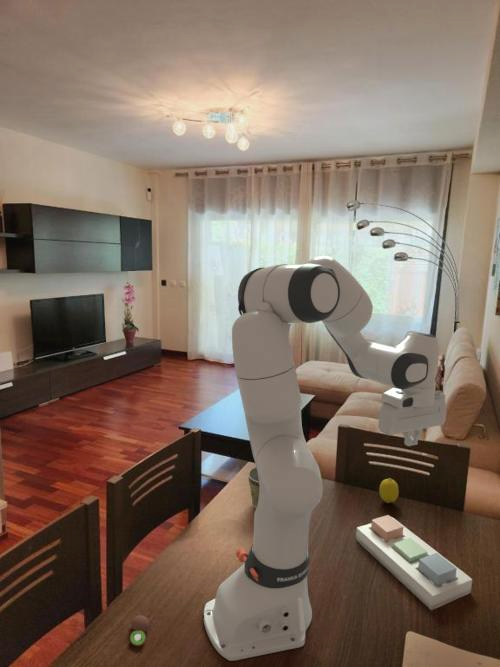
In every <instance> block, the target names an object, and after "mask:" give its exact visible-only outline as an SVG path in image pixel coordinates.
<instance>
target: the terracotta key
mask: <svg viewBox="0 0 500 667" xmlns="http://www.w3.org/2000/svg"><path fill="white" fill-rule="evenodd" d="M393 518H394V517H393ZM393 518H392V516H390V515H389V514H387V515H382V516H380V517H376V518H373V519H371V523H372V524H371V529H372V530H374V531H375V532H376V533H377V534H378V535H379V536H381V537H382V538H383V539H384V540H385V541H388V540H391V539H394V538H397V537H400V536H403V526H404V525H403V524H402V523H401V524H402V525H403V526H402V525H401V524H399V523H400V522H399V521H398V520H397V521H398V522H399V523H398V522H397V521H395V520H396V519H395V518H394V519H395V520H394V519H393Z"/></svg>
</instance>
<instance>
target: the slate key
mask: <svg viewBox="0 0 500 667" xmlns="http://www.w3.org/2000/svg"><path fill="white" fill-rule="evenodd" d="M438 553H439V552H438ZM438 553H435V554H432V555H429V556H427V557H424V558H421V559H419V565H418V569H419V570H420V571H421V572H422V573H423V574H425V575H426V576H427V577H428V578H429V579H430V580H432V581H433V582H434V583H435V584H436V585H437V586H438V585H440V584H443V583H445V582H448V581H450V580H452V579H455V578H456V570H457V568H458V567H457V566H456V567H457V568H456V567H454V566H453V565H454V564H453V563H452V562H451V563H452V564H453V565H452V564H451V563H449V562H450V561H449V560H448V559H447V560H448V561H449V562H448V561H447V560H445V559H444V558H445V557H444V556H443V555H442V556H443V557H444V558H443V557H442V556H440V555H441V554H440V553H439V554H440V555H439V554H438Z"/></svg>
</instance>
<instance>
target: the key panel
mask: <svg viewBox="0 0 500 667" xmlns="http://www.w3.org/2000/svg"><path fill="white" fill-rule="evenodd" d="M391 517H392V516H391ZM392 518H393V519H394V520H395V521H397V522H398V523H399V524H401V525H402V526H403V536H400V537H397V538H394V539H391V540H388V541H385V540H384V539H383V538H382V537H381V536H379V535H378V534H377V533H376V532H375V531H374V530H372V529H371V524H372V522H371V523H368V524H365V525H361V526H357V527H356V533H355V540H356V541H357V542H358V543H359V544H360V545H361V546H362V547H363V548H364V549H365V550H366V551H367V552H369V554H371V555H372V556H373V557H374V558H375V559H376V560H377V561H378V562H379V563H380V564H381V565H382V566H384V568H386V569H387V570H388V571H389V572H390V573H391V574H392V575H393V576H394V577H395V578H396V580H398V581H399V582H401V583H402V585H404V586H405V587H406V588H407V589H408V590H409V591H410V592H411V593H412V594H413V595H414V596H416V598H417V599H418V600H420V602H422V603H423V604H424V605H425V606H426V607H427V608H428V609H429V610H431V611H434V610H436V609H437V608H441V607H442V606H445V605H447V604H448V603H452V602H453V601H455V600H458V599H460V598H463V597H465V596H467V595H469V594H471V592H472V584H473V578H471V577H470V576H469V575H468V574H466V573H465V571H463V570H461V569H460V568H459V567H458V566H456V565H455V564H454V563H452V562H451V561H449V559H447V558H446V557H444V556H443V555H441V553H439V552H438V551H436V550H435V549H434V548H433V547H431V546H430V545H429V544H428V543H426V542H425V541H424V540H422V539H421V538H420V537H419V536H417V535H416V533H413V532H412V531H411V530H409V529H408V528H407V527H406V526H405V525H403V524H402V523H401V522H399V521H398V520H397V519H395V518H394V517H392ZM408 538H411V539H412V540H414V541H415V542H416V543H417V544H419V545H420V546H421V547H423V548H424V549H425V550H426V551H428V553H427V556H429V555H432V554H435V553H438V554H439V555H440V556H442V557H443V558H444V559H445V560H447V561H448V562H449V563H451V564H452V565H453V566H454V567H456V568H457V570H456V578H455V579H452V580H450V581H448V582H445V583H443V584H440V585H438V586H437V585H436V584H435V583H434V582H433V581H432V580H430V579H429V578H428V577H427V576H426V575H425V574H423V573H422V572H421V571H420V570H419V569H418V565H419V561H416V562H413V563H411V564H410V563H408V562H407V561H406V560H405V559H404V558H403V557H401V556H400V555H399V554H398V553H397V552H396V551H395V550H393V543H396V542H399V541H402V540H405V539H408Z"/></svg>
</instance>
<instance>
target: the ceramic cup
mask: <svg viewBox="0 0 500 667" xmlns="http://www.w3.org/2000/svg"><path fill="white" fill-rule="evenodd" d="M247 475H248V484H249V487H250V494H251V500H252V506H253V508H254V507H255V508H254V509H255V510H256V509H257V505H258V500H259V478H258V472H257V468H256V466H255V467H253V468H251V469H249V471H248V474H247Z"/></svg>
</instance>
